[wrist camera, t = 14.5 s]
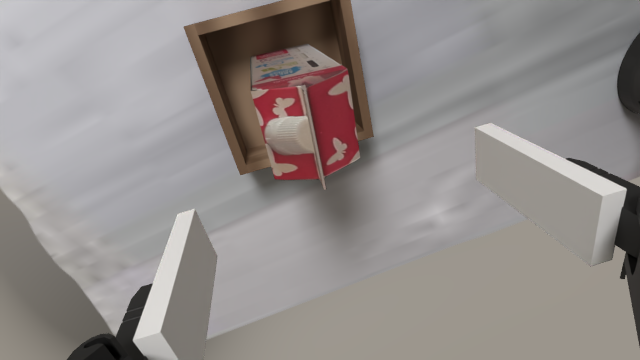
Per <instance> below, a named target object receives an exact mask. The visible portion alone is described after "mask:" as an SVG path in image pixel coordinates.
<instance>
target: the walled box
mask: <svg viewBox="0 0 640 360" xmlns="http://www.w3.org/2000/svg"><path fill="white" fill-rule="evenodd" d="M184 29H185V32H186V35H187V37H188V40H189V42H190V45H191V48H192V50H193V53H194V55H195V58H196V61H197V63H198V66H199V69H200V71H201V74H202V76H203V79H204V82H205V84H206V87H207V89H208V92H209V95H210V97H211V100H212V102H213V105H214V108H215V110H216V113H217V115H218V118H219V121H220V123H221V126H222V129H223V131H224V134H225V136H226V139H227V142H228V144H229V147H230V149H231V152H232V155H233V157H234V160H235V162H236V165H237V168H238V170H239V173H240V175H243V174H246V173H250V172H253V171H257V170H260V169H264V168H267V167H271V163H270V160H269V156H268V152H267V149H266V145H265V141H264V138H263V134H262V130H261V127H260V123H259V120H258V116H257V112H256V109H255V105H254V101H253V98H252V94H251V82H250V57H251V56H253V55H258V54H262V53H267V52H272V51H276V50H281V49H285V48H290V47H295V46H299V45H304V44H309V45H310V46H312V47H313V48H315V49H317V50H318V51H320V52H321V53H323V54H325V55H326V56H328V57H329V58H331V59H333V60H334V61H336V62H337V63H339V64H340V65H342V66H344V67H345V68H347V69H348V75H349V82H350V89H351V96H352V103H353V110H354V117H355V124H356V131H357V138H358V141H360V140H364V139H367V138H371V137H374V136H373V130H372V124H371V118H370V113H369V107H368V101H367V95H366V89H365V83H364V77H363V71H362V65H361V59H360V54H359V48H358V42H357V36H356V30H355V24H354V18H353V12H352V6H351V0H282V1H279V2H275V3H271V4H267V5H263V6H260V7H256V8H252V9H248V10H244V11H241V12H237V13H233V14H229V15H225V16H222V17H218V18H214V19H210V20H206V21H203V22H199V23H195V24H191V25H188V26H185V27H184Z"/></svg>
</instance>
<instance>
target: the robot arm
mask: <svg viewBox="0 0 640 360" xmlns="http://www.w3.org/2000/svg"><path fill="white" fill-rule="evenodd" d="M618 91H619V96H620V99H621V101H622V103H623V104H624V105H625V106H626V107H627V108H628V109H629V110H631V111H633V112H636V113H639V114H640V33H639V35H638V36H637V37H636V39H635V40H634V41H633V43H632V45H631V46H630V48H629V50H628V51H627V53H626V55H625V58H624V60H623V63H622V66H621V69H620V73H619V79H618ZM475 154H476V180H478V181H479V182H480V183H482V184H483V185H484V186H486V187H487V188H488V189H490V190H491V191H492V192H494V193H495V194H496V195H497V196H499V197H500V198H501V199H503V200H504V201H505V202H507V203H508V204H509V205H511V206H512V207H513V208H514V209H516V210H517V211H518V212H520V213H521V214H522V215H524V216H525V217H526V218H528V219H529V220H530V221H532V222H533V223H534V224H535V225H537V226H538V227H539V228H541V229H542V230H543V231H545V232H546V233H547V234H549V235H550V236H551V237H553V238H554V239H555V240H556V241H558V242H559V243H560V244H562V245H563V246H564V247H566V248H567V249H568V250H570V251H571V252H572V253H574V254H575V255H576V256H577V257H579V258H580V259H582V260H583V261H584V262H585V263H587V264H588V265H589V266H594V265H597V264H600V263H603V262H606V261H610V260H612V258H613V253H614V247H615V245H616V246H618V247H620V248H621V249H623V250H624V251H626V254H625V259H624V263H623V267H622V272H621V276H620V278H621V279H625V275H627V280H628V285H629V291H630V297H631V302H632V307H633V313H634V319H635V324H636V330H637V335H638V340H639V346H640V187H639V186H637V185H634V184H632V183H630V182H628V181H626V180H624V179H621V178H619V177H617V176H615V175H613V174H608V172H606V171H604V170H602V169H598V168H597V167H595V166H593V165H591V164H589V163H587V162H585V161H580V160H576V159H571V158H566V159H564V158H562V157H560V156H558V155H556V154H554V153H552V152H550V151H548V150H545V149H543V148H541V147H539V146H537V145H535V144H533V143H531V142H529V141H527V140H525V139H523V138H521V137H518V136H516V135H514V134H512V133H510V132H508V131H506V130H504V129H502V128H500V127H498V126H496V125H494V124H492V123H489V124H485V125H482V126H478V127H475ZM216 264H217V254H216V252H215V250H214V248H213V246H212V244H211V242H210V240H209V238H208V235H207V233H206V231H205V229H204V227H203V225H202V223H201V221H200V219H199V217H198V214H197V212H196V210H195V209H193V210H189V211H186V212H183V213H179V214H178V215H177V218H176V220H175V223H174V226H173V229H172V232H171V234H170V237H169V240H168V243H167V246H166V248H165V251H164V254H163V257H162V260H161V262H160V265H159V268H158V271H157V274H156V276H155V279H154V282H153V283H152V284H149V285H146V286H142V287H141V288H140V289H139V290H138V291H137V293H136V294H135V295H134V296H133V298H132V299H131V301H130V304H129V306H128V308H127V313H125V316H124V318H123V323H121V325H120V328H119V330H118V333H117V335H116V338H115V336H113V335H111V334H100V335H97V336H95V337H92V338H90V339H89V340H87V341H86V342H84V343H82V344H81V345H80V346H79V347H78V348H77V349H76V350H74V351H73V352H72V354H71V355H70V356H69V358H68V359H67V360H203V359H204V351H205V345H206V338H207V330H208V323H209V315H210V308H211V301H212V293H213V286H214V279H215V271H216Z"/></svg>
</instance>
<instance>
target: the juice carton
mask: <svg viewBox="0 0 640 360" xmlns="http://www.w3.org/2000/svg"><path fill="white" fill-rule="evenodd" d="M250 82H251V94H252V98H253V101H254V105H255V109H256V112H257V116H258V120H259V123H260V127H261V130H262V134H263V138H264V141H265V145H266V149H267V152H268V156H269V160H270V163H271V167H272V170H273V174H274V178H275V179H279V180H311V179H320V180H321V183H322V186H323V189H324V190H326V185H325V180H324V178H325V177H326V176H328V175H330V174H332V173H334V172H336V171H338V170H340V169H341V168H343V167H345V166H347V165H349V164H351V163H353V162H354V161H356V160H357V159H359V158H360V152H359V145H358V138H357V131H356V124H355V117H354V110H353V103H352V96H351V89H350V82H349V75H348V69H347V68H345V67H344V66H342V65H340V64H339V63H337V62H336V61H334V60H333V59H331V58H329V57H328V56H326V55H325V54H323V53H321V52H320V51H318V50H317V49H315V48H313V47H312V46H310V45H309V44H304V45H299V46H295V47H290V48H285V49H281V50H276V51H272V52H267V53H262V54H258V55H253V56H251V57H250Z"/></svg>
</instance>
